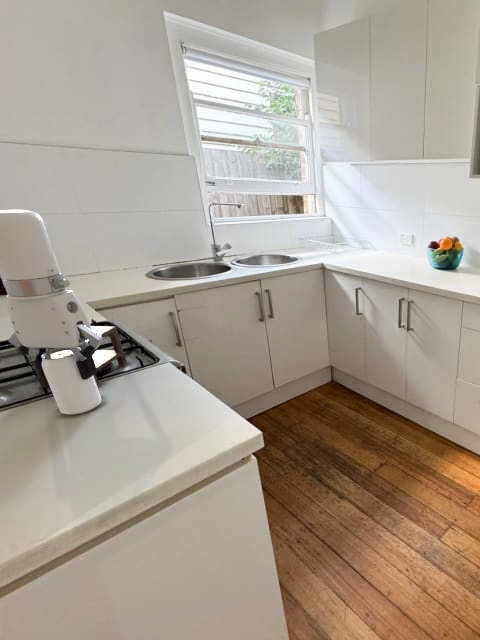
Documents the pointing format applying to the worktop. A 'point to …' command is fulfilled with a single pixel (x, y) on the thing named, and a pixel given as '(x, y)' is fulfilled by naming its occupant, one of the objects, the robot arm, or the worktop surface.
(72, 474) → the worktop surface
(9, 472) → the worktop surface
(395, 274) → the worktop surface
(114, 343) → the shelf
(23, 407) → the worktop surface
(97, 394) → the can
